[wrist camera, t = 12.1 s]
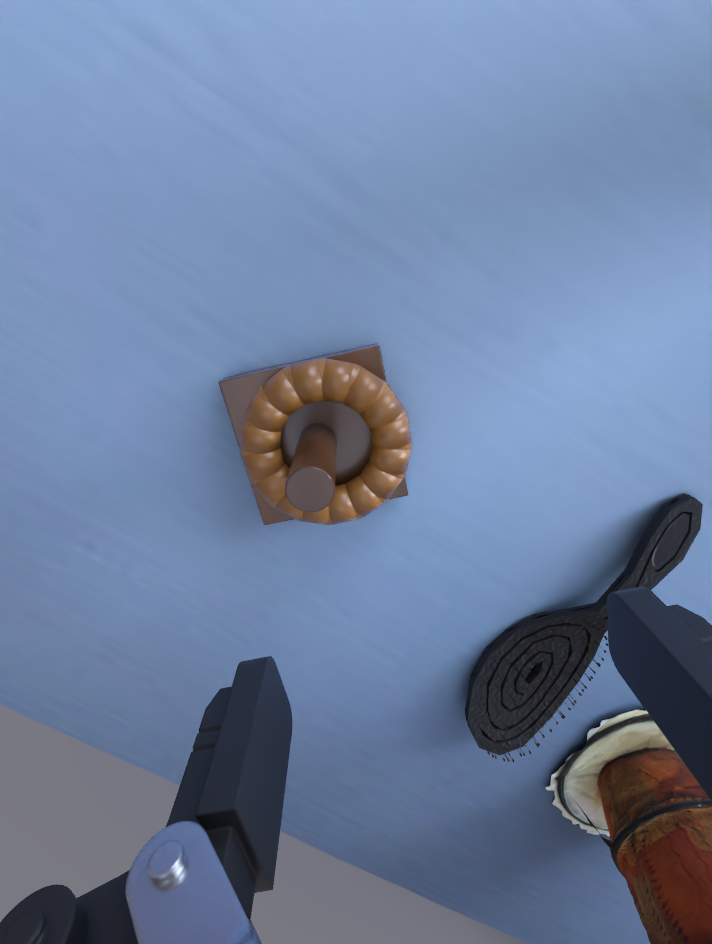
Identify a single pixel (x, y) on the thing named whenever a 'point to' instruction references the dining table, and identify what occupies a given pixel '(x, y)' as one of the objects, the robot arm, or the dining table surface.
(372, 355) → the peg stand
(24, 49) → the dining table surface
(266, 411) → the donut
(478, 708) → the hairbrush
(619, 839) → the decorative vase
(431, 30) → the dining table surface
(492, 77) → the dining table surface
